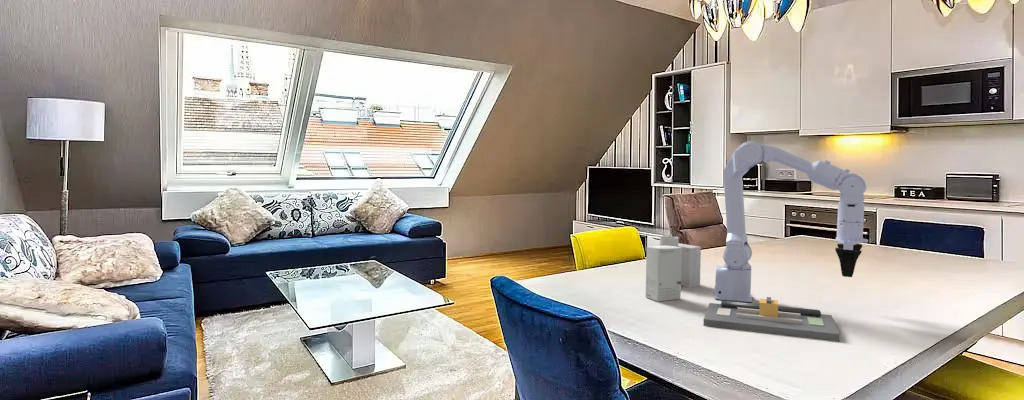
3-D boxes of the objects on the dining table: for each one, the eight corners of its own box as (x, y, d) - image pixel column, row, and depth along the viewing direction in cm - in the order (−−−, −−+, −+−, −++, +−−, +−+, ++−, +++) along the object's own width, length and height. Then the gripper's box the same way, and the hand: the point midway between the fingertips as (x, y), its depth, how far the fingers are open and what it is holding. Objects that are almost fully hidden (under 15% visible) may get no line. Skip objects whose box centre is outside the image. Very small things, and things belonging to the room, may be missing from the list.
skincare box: (657, 302, 153) (658, 248, 152) (644, 297, 159) (645, 245, 157) (681, 299, 156) (683, 246, 155) (668, 294, 162) (669, 243, 161)
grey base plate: (703, 325, 132) (703, 314, 132) (709, 308, 147) (709, 298, 146) (839, 341, 121) (839, 328, 120) (831, 321, 135) (831, 310, 135)
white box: (700, 285, 173) (701, 237, 172) (668, 291, 165) (669, 241, 164) (669, 278, 183) (670, 233, 182) (638, 283, 176) (639, 236, 174)
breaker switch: (759, 317, 132) (759, 300, 132) (759, 312, 136) (759, 296, 136) (777, 319, 131) (778, 301, 131) (777, 314, 134) (777, 297, 134)
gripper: (868, 225, 133) (866, 281, 134) (869, 219, 146) (866, 270, 147) (834, 223, 137) (832, 277, 138) (837, 217, 149) (835, 267, 150)
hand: (847, 273), depth 143 cm, fingers open, 7 cm apart
